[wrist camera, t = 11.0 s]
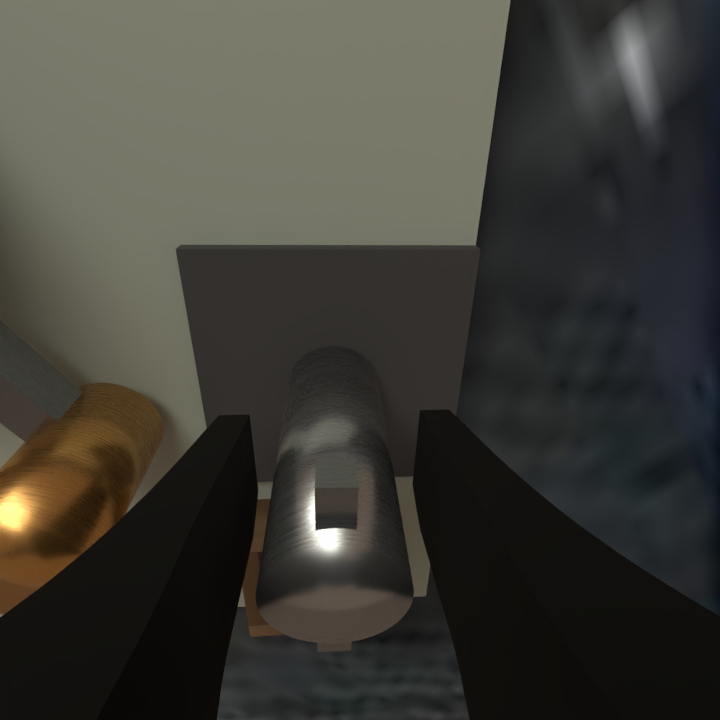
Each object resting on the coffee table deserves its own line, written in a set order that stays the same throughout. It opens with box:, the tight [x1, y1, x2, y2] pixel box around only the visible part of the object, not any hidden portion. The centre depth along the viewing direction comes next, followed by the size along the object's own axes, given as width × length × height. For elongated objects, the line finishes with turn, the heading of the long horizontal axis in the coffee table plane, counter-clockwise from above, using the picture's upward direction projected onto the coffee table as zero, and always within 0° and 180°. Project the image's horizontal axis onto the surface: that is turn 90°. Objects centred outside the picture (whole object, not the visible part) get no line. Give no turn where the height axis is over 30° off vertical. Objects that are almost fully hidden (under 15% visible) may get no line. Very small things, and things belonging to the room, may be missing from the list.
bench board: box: [0, 0, 510, 617], centre depth 12 cm, size 20×22×1 cm
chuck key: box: [256, 346, 414, 652], centre depth 9 cm, size 2×4×6 cm, turn 178°
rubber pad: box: [176, 245, 481, 482], centre depth 12 cm, size 7×7×1 cm
